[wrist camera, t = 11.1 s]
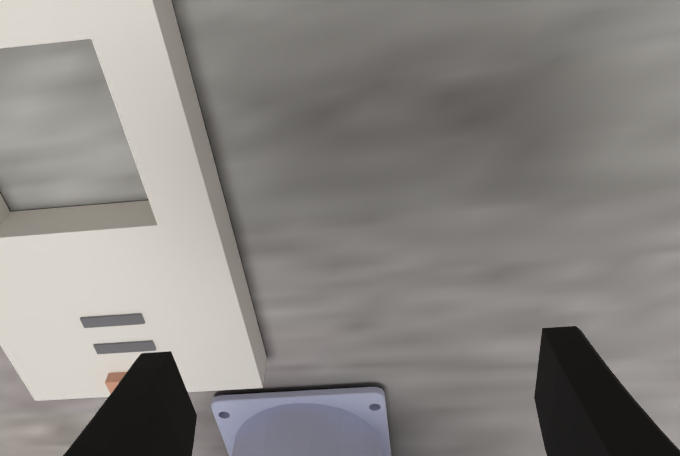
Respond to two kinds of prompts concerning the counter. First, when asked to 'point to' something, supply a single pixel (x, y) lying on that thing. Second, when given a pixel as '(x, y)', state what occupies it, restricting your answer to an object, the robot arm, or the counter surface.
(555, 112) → the counter surface
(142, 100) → the power strip
